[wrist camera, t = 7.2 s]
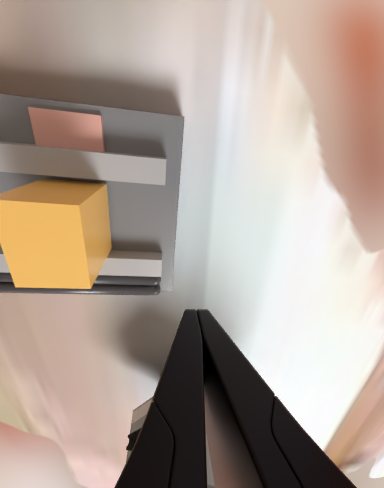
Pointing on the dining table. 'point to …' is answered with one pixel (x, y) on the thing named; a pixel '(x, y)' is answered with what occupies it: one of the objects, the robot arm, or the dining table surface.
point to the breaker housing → (102, 181)
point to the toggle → (55, 233)
